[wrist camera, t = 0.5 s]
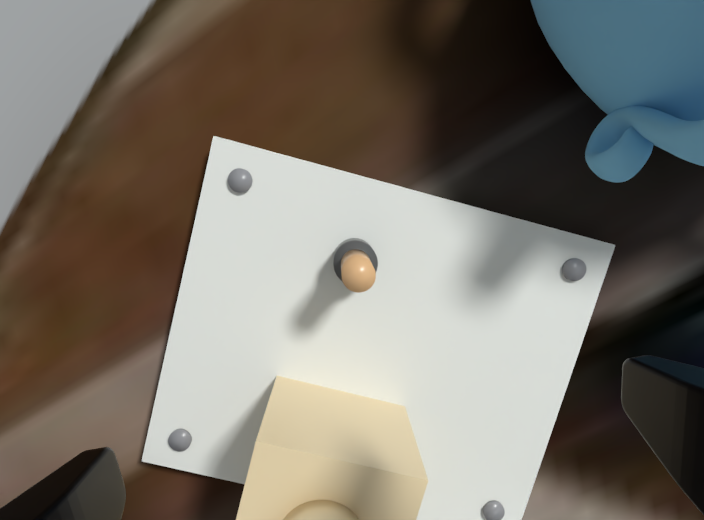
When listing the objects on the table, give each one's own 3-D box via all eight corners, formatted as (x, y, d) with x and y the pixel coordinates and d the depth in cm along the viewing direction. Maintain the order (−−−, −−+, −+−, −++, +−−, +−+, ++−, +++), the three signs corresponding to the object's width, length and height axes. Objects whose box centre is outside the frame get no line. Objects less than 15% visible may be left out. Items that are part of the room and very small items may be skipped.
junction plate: (504, 526, 25) (551, 621, 19) (151, 447, 23) (96, 524, 18) (600, 242, 23) (683, 258, 17) (220, 138, 21) (181, 122, 16)
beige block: (370, 522, 23) (384, 658, 16) (246, 494, 22) (208, 622, 16) (404, 406, 22) (434, 499, 15) (276, 375, 22) (250, 457, 15)
